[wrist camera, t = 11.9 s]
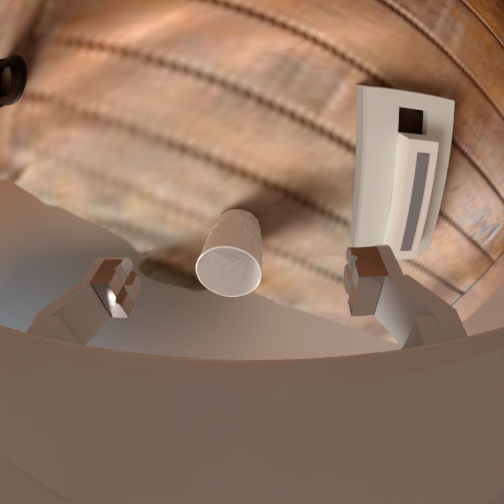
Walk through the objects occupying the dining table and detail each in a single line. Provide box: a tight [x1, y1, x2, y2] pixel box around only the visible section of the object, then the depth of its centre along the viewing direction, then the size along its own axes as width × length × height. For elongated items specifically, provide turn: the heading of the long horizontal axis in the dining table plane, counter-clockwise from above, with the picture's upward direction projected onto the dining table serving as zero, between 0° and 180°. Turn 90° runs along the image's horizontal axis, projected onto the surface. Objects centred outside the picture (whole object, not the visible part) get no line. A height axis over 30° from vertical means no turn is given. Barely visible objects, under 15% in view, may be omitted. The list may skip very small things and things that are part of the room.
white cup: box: [196, 209, 262, 297], centre depth 37 cm, size 8×8×10 cm
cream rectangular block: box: [384, 132, 439, 260], centre depth 31 cm, size 16×4×6 cm, turn 6°
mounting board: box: [350, 84, 455, 251], centre depth 32 cm, size 22×12×4 cm, turn 6°
